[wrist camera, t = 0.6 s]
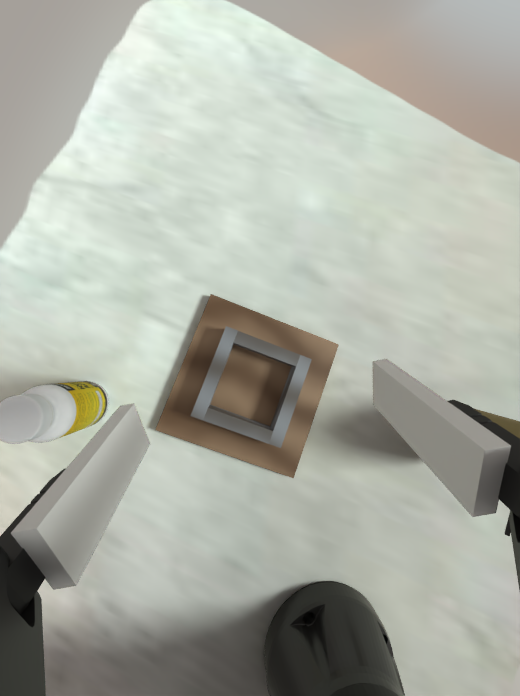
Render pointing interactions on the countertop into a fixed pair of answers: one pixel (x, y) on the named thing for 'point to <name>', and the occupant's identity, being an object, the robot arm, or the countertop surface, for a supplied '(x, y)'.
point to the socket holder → (248, 387)
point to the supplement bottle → (51, 411)
